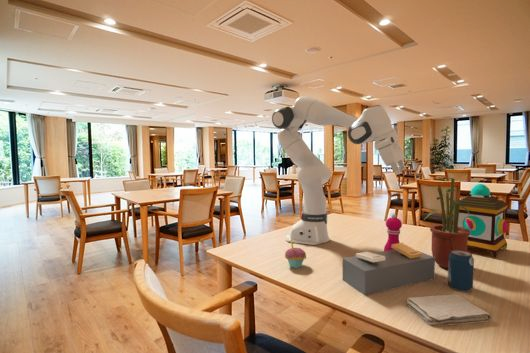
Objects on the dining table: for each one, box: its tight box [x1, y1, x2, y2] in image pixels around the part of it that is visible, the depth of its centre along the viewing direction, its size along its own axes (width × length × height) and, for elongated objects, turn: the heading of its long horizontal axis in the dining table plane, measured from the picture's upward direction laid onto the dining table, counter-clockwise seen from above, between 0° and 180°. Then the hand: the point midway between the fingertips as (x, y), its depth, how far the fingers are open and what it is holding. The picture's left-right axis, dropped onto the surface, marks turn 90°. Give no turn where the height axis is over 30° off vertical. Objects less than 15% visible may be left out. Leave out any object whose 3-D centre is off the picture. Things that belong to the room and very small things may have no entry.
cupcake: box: [284, 239, 307, 269], centre depth 118 cm, size 9×8×12 cm
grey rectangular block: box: [342, 249, 436, 296], centre depth 104 cm, size 12×30×9 cm, turn 110°
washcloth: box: [406, 294, 492, 326], centre depth 83 cm, size 12×18×3 cm, turn 97°
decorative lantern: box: [452, 183, 509, 259], centre depth 131 cm, size 20×20×30 cm
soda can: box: [447, 250, 475, 292], centre depth 97 cm, size 7×7×12 cm
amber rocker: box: [391, 242, 423, 259], centre depth 106 cm, size 9×5×1 cm, turn 20°
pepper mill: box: [383, 213, 403, 251], centre depth 119 cm, size 7×7×20 cm
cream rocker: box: [355, 251, 385, 262], centre depth 100 cm, size 9×5×1 cm, turn 20°
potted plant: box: [423, 177, 470, 270], centre depth 115 cm, size 17×16×35 cm
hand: (401, 172), depth 120 cm, fingers open, 8 cm apart
